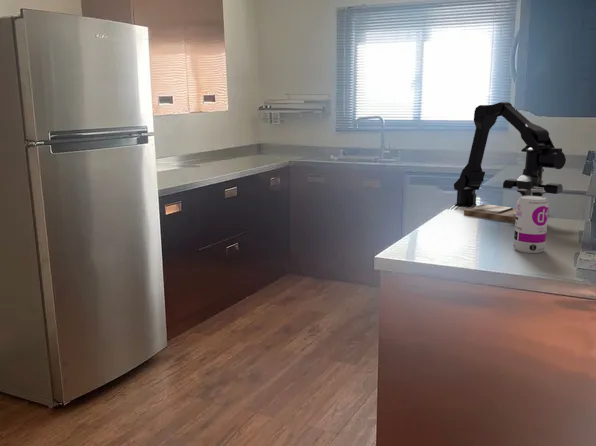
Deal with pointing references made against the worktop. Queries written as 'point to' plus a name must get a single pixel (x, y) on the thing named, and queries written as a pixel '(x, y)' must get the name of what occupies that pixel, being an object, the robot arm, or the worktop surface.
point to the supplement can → (531, 224)
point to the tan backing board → (492, 212)
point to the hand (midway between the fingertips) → (529, 210)
